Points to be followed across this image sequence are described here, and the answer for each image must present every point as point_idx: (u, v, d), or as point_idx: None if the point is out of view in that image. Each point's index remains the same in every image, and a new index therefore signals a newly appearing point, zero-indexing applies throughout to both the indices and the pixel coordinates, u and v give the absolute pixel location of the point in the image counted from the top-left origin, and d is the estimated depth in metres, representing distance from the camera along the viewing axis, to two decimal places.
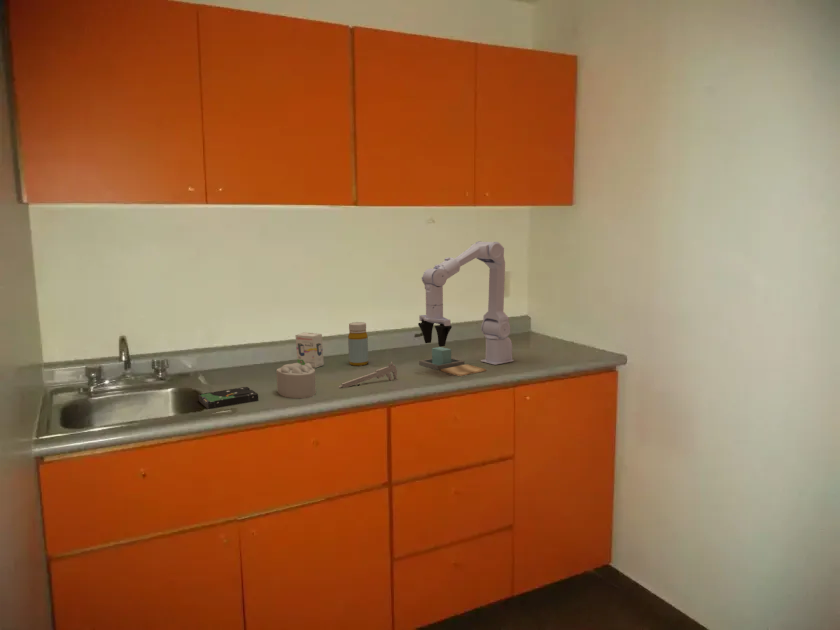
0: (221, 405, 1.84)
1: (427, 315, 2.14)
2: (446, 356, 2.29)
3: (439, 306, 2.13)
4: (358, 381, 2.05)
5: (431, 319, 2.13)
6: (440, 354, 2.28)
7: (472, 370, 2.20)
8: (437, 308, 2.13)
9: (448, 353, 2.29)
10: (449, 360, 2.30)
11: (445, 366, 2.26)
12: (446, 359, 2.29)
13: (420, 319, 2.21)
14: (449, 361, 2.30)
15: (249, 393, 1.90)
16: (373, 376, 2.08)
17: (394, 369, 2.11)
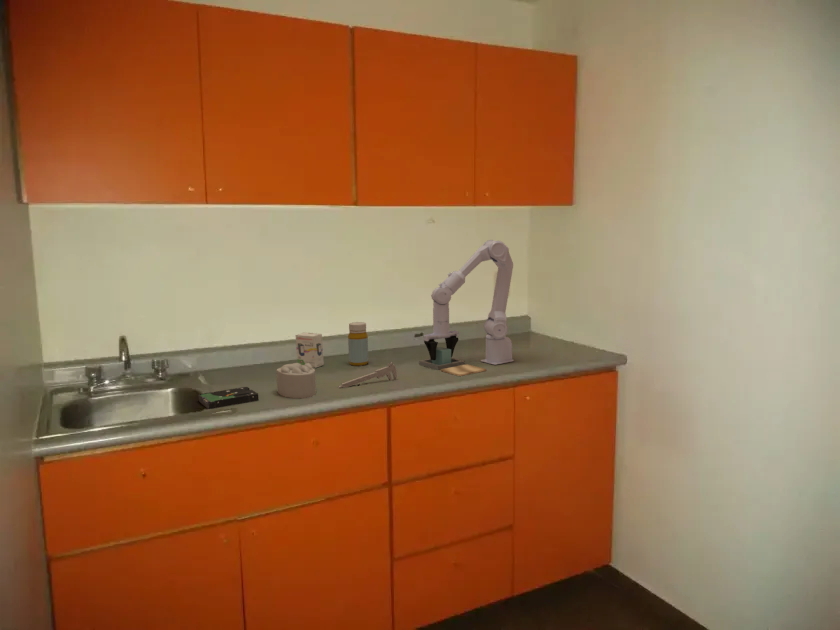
0: (222, 405, 1.84)
1: None
2: (446, 356, 2.29)
3: (434, 322, 2.28)
4: (358, 381, 2.05)
5: None
6: (440, 354, 2.28)
7: (472, 370, 2.20)
8: (433, 324, 2.29)
9: (448, 353, 2.29)
10: (449, 360, 2.30)
11: (445, 366, 2.26)
12: (446, 359, 2.29)
13: None
14: (449, 361, 2.30)
15: (249, 393, 1.90)
16: (373, 376, 2.08)
17: (394, 369, 2.11)
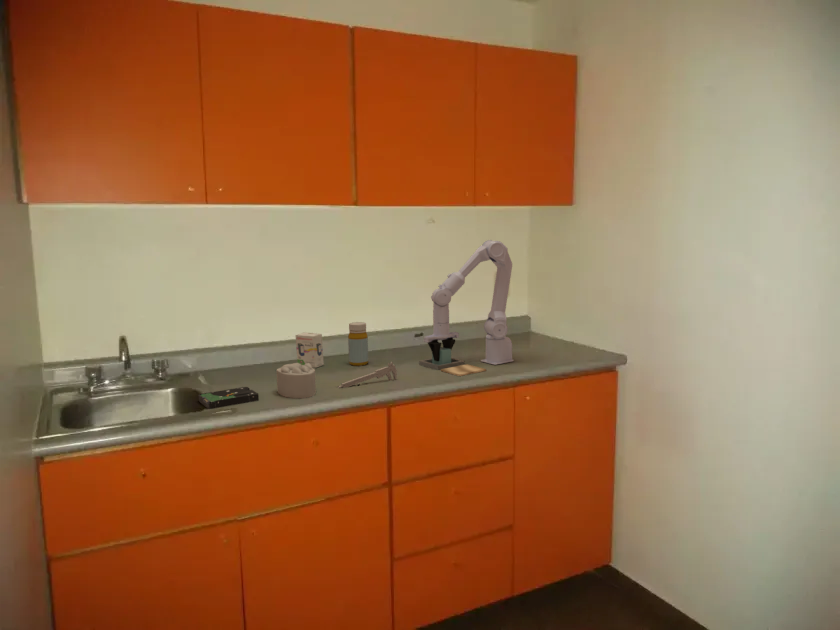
0: (222, 405, 1.84)
1: None
2: (446, 356, 2.29)
3: (434, 324, 2.28)
4: (358, 381, 2.05)
5: None
6: (440, 354, 2.28)
7: (472, 370, 2.20)
8: (433, 325, 2.29)
9: (448, 353, 2.29)
10: (449, 360, 2.30)
11: (445, 366, 2.26)
12: (446, 359, 2.29)
13: None
14: (449, 361, 2.30)
15: (249, 393, 1.90)
16: (373, 376, 2.08)
17: (394, 369, 2.11)
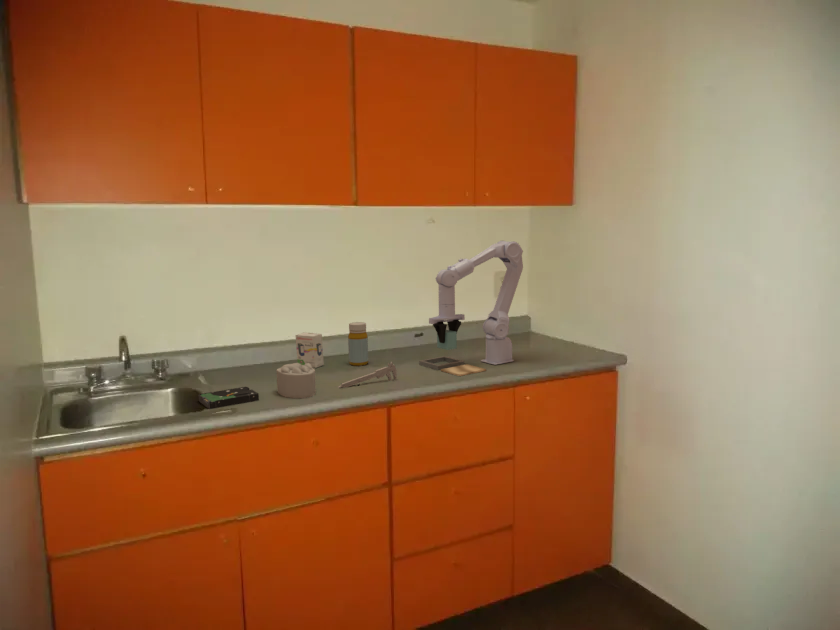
0: (222, 405, 1.84)
1: None
2: (451, 338, 2.25)
3: (440, 305, 2.25)
4: (358, 381, 2.05)
5: None
6: (446, 336, 2.25)
7: (472, 370, 2.20)
8: (439, 307, 2.25)
9: (453, 335, 2.26)
10: (454, 343, 2.27)
11: (445, 366, 2.26)
12: (452, 342, 2.26)
13: None
14: (454, 344, 2.27)
15: (249, 393, 1.90)
16: (373, 376, 2.07)
17: (394, 369, 2.11)
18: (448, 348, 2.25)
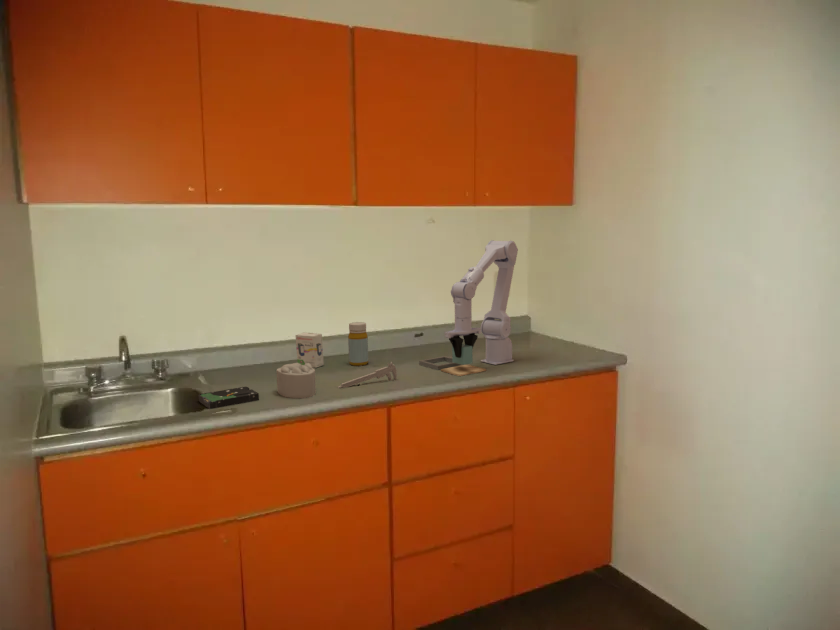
0: (223, 405, 1.84)
1: None
2: (467, 353, 2.19)
3: (456, 319, 2.18)
4: (358, 381, 2.05)
5: None
6: (461, 351, 2.19)
7: (472, 370, 2.20)
8: (455, 320, 2.19)
9: (469, 350, 2.20)
10: (470, 357, 2.20)
11: (445, 366, 2.26)
12: (467, 356, 2.20)
13: None
14: (470, 358, 2.20)
15: (249, 393, 1.90)
16: (373, 376, 2.07)
17: (394, 369, 2.11)
18: (464, 363, 2.19)
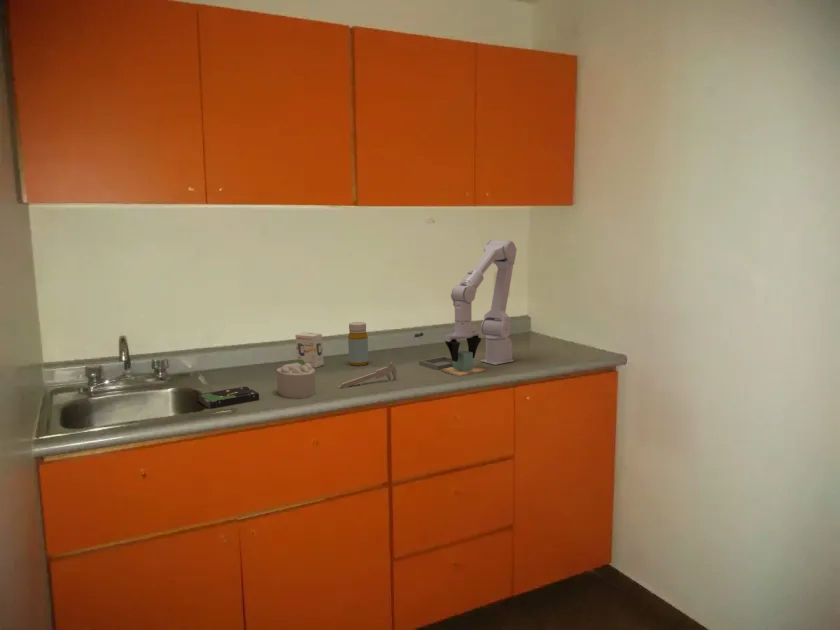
0: (223, 405, 1.84)
1: None
2: (467, 359, 2.20)
3: (456, 322, 2.18)
4: (358, 381, 2.05)
5: None
6: (462, 357, 2.19)
7: (472, 370, 2.20)
8: (455, 323, 2.19)
9: (470, 356, 2.20)
10: (471, 364, 2.21)
11: (445, 366, 2.26)
12: (468, 363, 2.20)
13: None
14: (471, 365, 2.21)
15: (250, 392, 1.91)
16: (373, 376, 2.07)
17: (393, 369, 2.11)
18: (464, 369, 2.19)
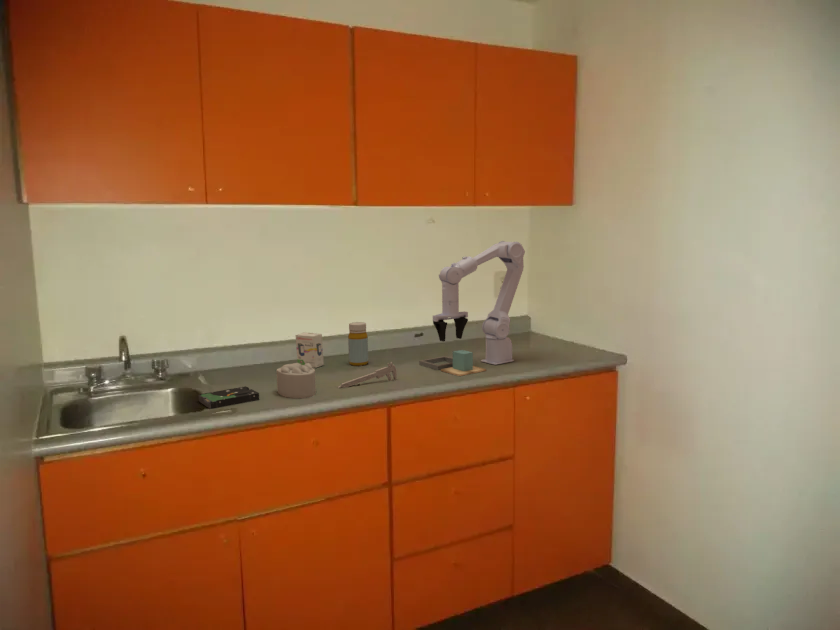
0: (223, 405, 1.84)
1: None
2: (467, 359, 2.20)
3: (444, 303, 2.23)
4: (358, 381, 2.05)
5: None
6: (462, 357, 2.19)
7: (472, 370, 2.20)
8: (443, 304, 2.23)
9: (470, 356, 2.20)
10: (471, 364, 2.21)
11: (445, 366, 2.26)
12: (468, 363, 2.20)
13: None
14: (471, 365, 2.21)
15: (250, 392, 1.91)
16: (373, 376, 2.07)
17: (393, 369, 2.11)
18: (464, 369, 2.19)
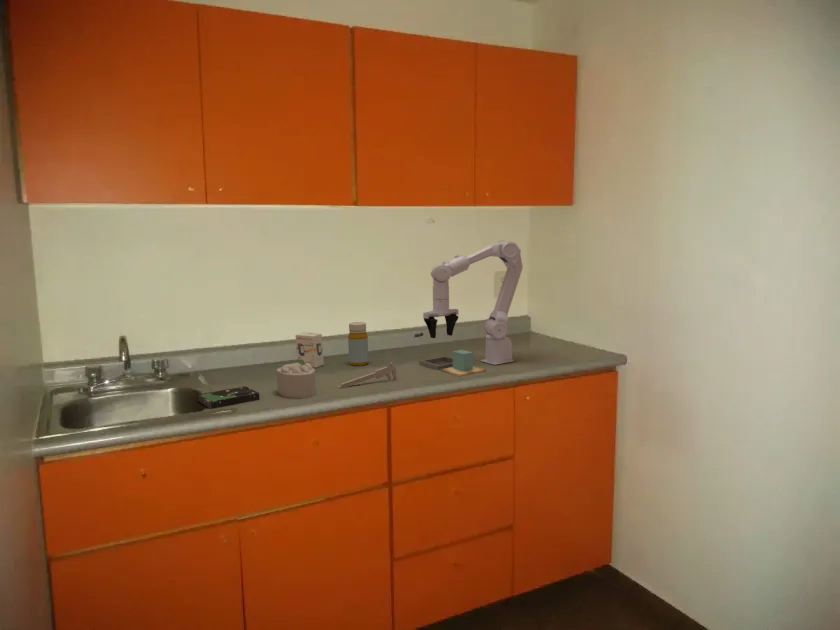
0: (224, 405, 1.84)
1: None
2: (467, 359, 2.20)
3: (434, 300, 2.27)
4: (357, 381, 2.05)
5: None
6: (462, 357, 2.19)
7: (472, 370, 2.20)
8: (433, 301, 2.28)
9: (470, 356, 2.20)
10: (471, 364, 2.21)
11: (445, 366, 2.26)
12: (468, 363, 2.20)
13: None
14: (471, 365, 2.21)
15: (250, 392, 1.91)
16: (372, 376, 2.07)
17: (393, 369, 2.11)
18: (464, 369, 2.19)
